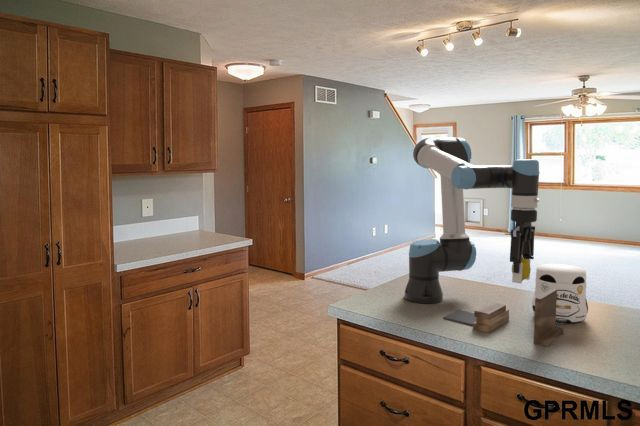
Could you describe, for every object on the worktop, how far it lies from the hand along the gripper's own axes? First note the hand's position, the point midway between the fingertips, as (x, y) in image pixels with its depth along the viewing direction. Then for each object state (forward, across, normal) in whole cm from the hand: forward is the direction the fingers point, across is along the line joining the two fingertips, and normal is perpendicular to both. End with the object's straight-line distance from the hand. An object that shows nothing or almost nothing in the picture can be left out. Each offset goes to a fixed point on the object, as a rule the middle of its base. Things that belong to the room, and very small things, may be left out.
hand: (520, 280), depth 151 cm
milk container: (+17, +21, -5) cm, 27 cm away
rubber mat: (+17, 0, +19) cm, 25 cm away
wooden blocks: (+17, 0, 0) cm, 17 cm away
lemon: (+1, 0, 0) cm, 1 cm away
